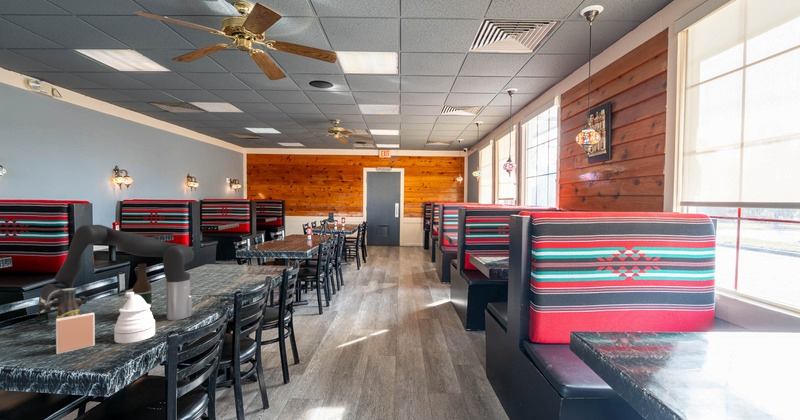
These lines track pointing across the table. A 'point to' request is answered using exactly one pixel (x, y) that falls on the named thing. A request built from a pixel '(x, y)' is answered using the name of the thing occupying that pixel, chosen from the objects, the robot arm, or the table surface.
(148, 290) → the beer bottle
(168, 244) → the robot arm
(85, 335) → the tile
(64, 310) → the sauce bottle
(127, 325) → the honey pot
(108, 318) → the table surface
